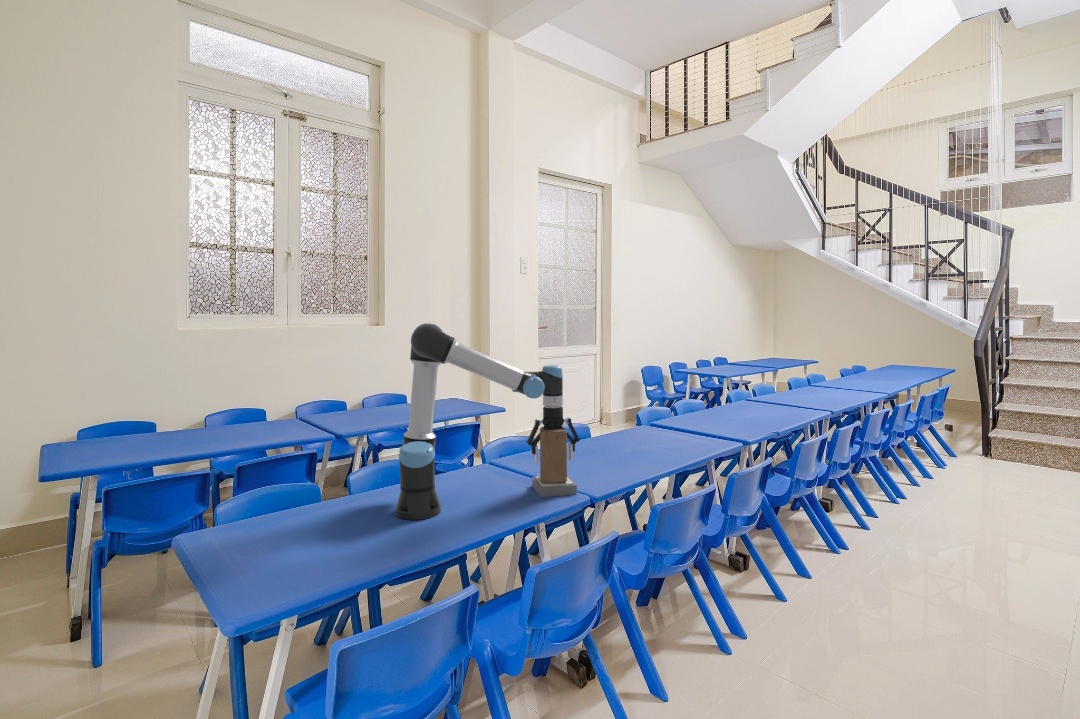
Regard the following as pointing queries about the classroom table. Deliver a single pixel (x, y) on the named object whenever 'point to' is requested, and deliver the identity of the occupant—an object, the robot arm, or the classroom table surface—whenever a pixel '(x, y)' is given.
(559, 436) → the wooden block
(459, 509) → the classroom table surface
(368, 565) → the classroom table surface
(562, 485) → the base
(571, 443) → the robot arm
